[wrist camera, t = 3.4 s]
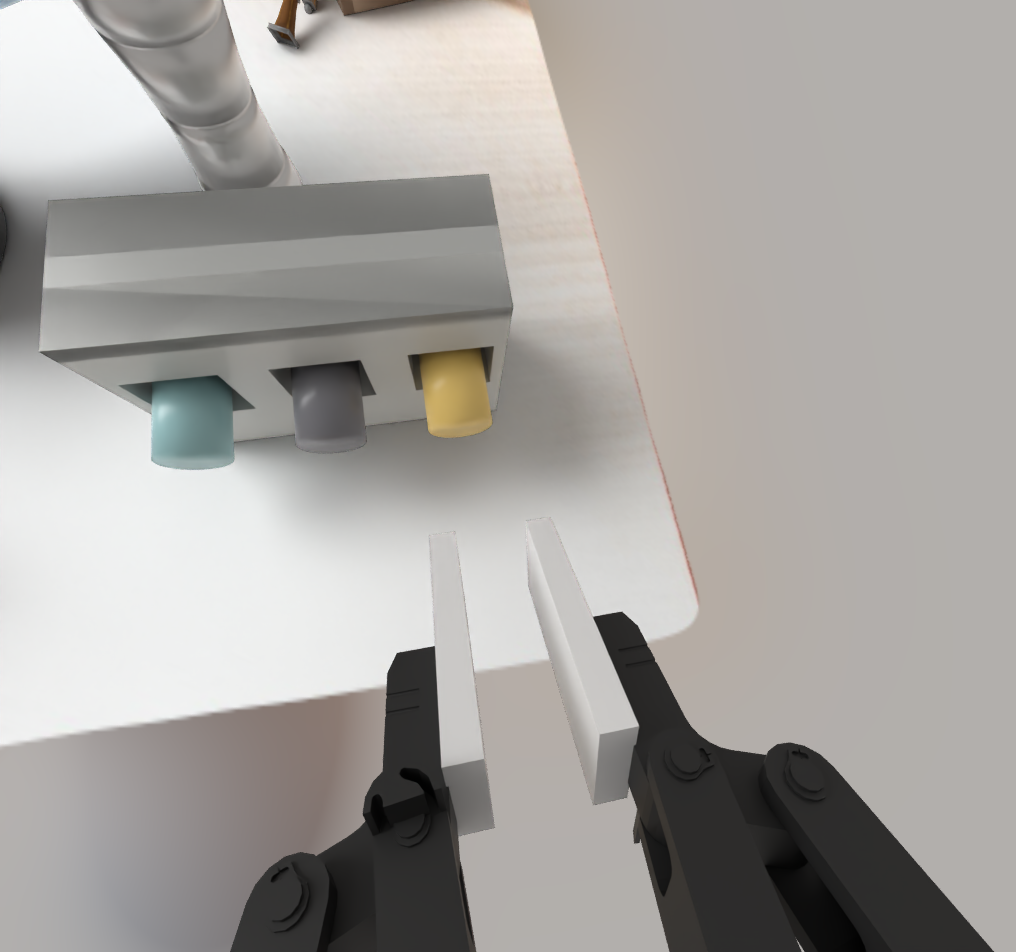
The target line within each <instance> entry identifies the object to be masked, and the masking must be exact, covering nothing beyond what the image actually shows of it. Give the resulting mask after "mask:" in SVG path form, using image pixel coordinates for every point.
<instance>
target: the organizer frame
mask: <svg viewBox="0 0 1016 952" xmlns="http://www.w3.org/2000/svg"><path fill="white" fill-rule="evenodd" d="M408 1H413V0H337V2H338V4H339V6H340V8H341V10H342V12H343V14H344V15H349V14H353V13H358V12H362V11H367V10H372V9H376V8H381V7H385V6H390V5H394V4H399V3H404V2H408Z"/></svg>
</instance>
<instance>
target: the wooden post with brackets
mask: <svg viewBox="0 0 1016 952" xmlns="http://www.w3.org/2000/svg"><path fill="white" fill-rule="evenodd" d="M302 1H303V3H304V5H305V6H304V9H305V11H306V13H308V14H310V13H312V9H313V10H316V5H317V0H302ZM298 3H300V0H283V3H282V6H281V9H280V12H279V15H278V18H277V20H276V22H275V25H274V24H271V23H269V25H268V27H267V28H268V29H269V31H270V32H271V34H272V35H273V37H274V38H275V39H276V41H277V42H279V41H280V42H283V43H286V44H289V45H292V46H295V47H297V48H298V47H299V44H298V43H297V41H296V40H295V20H296V10H297V4H298Z"/></svg>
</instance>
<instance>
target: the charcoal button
mask: <svg viewBox="0 0 1016 952" xmlns="http://www.w3.org/2000/svg"><path fill="white" fill-rule="evenodd" d="M291 379H292V395H293V410H294V426H295V441H296V446H297V447H298V448H299V449H302V450H304V451H308V452H314V453H339V452H346V451H351V450H354V449H357V448H360V447H362V446H363V445H365V443H366V442H367V440H366V430H365V420H364V409H363V399H362V389H361V379H360V369H359V360H356V361H346V362H337V363H327V364H317V365H308V366H298V367H291Z"/></svg>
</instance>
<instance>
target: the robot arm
mask: <svg viewBox="0 0 1016 952" xmlns="http://www.w3.org/2000/svg"><path fill="white" fill-rule="evenodd" d="M20 1H22V0H0V9H3V8H5V7H8V6H10V5H13V4H15V3H17V2H20ZM6 237H7V228H6V221H5V216H4V213H3V210H2V208H1V206H0V262H1V259H2V257H3V254H4V250H5V245H6ZM526 537H527V561H528V586H529V590H530V593H531V596H532V600H533V603H534V607H535V610H536V613H537V617H538V620H539V624H540V627H541V630H542V634H543V637H544V640H545V644H546V647H547V651H548V654H549V657H550V661H551V664H552V668H553V671H554V674H555V678H556V681H557V684H558V688H559V691H560V695H561V698H562V701H563V705H564V708H565V712H566V715H567V718H568V722H569V725H570V728H571V731H572V735H573V738H574V742H575V745H576V749H577V752H578V756H579V759H580V762H581V766H582V769H583V772H584V776H585V779H586V783H587V786H588V789H589V793H590V796H591V800H592V803H593V805H597V804H601V803H606V802H610V801H615V800H619V799H623V798H627V795H628V789H629V787H630V790H631V792H632V795H633V798H634V801H635V804H636V806H637V814H636V819H635V824H634V829H633V835H634V843H639V842H640V839H641V843H642V847H643V851H644V854H645V858H646V862H647V866H648V870H649V874H650V878H651V881H652V886H653V889H654V893H655V897H656V901H657V905H658V909H659V913H660V917H661V920H662V924H663V928H664V932H665V936H666V940H667V943H668V948H669V951H670V952H801V949H800V947H799V945H798V943H797V940H798V942H799V944H800V945H801V947H802V948H803V950H804V952H994V951H993V950H992V949H991V948H990V947H989V945H988V944H987V943H986V942H985V941H984V940H983V939H982V937H981V936H980V935H979V934H978V933H977V932H976V931H975V929H974V928H973V927H972V926H971V925H970V923H969V922H968V921H967V920H966V919H965V918H964V917H963V915H962V914H961V913H960V912H959V911H958V910H957V909H956V907H955V906H954V905H953V904H952V903H951V902H950V900H949V899H948V898H947V897H946V896H945V895H944V894H943V893H942V891H941V890H940V889H939V888H938V887H937V885H936V884H935V883H934V882H933V881H932V880H931V879H930V877H929V876H928V875H927V874H926V873H925V872H924V871H923V869H922V868H921V867H920V866H919V865H918V864H917V863H916V861H915V860H914V859H913V858H912V857H911V856H910V854H909V853H908V852H907V851H906V850H905V849H904V847H903V846H902V845H901V844H900V843H899V842H898V840H897V839H896V838H895V837H894V836H893V835H892V834H891V833H890V831H889V830H888V829H887V828H886V827H885V825H884V824H883V823H882V822H881V821H880V820H879V819H878V817H877V816H876V815H875V814H874V813H873V812H872V811H871V809H870V808H869V807H868V806H867V805H866V804H865V802H864V801H863V800H862V799H861V798H860V797H859V796H858V795H857V793H856V792H855V791H854V790H853V789H852V787H851V786H850V785H849V784H848V783H847V782H846V781H845V779H844V778H843V777H842V776H841V775H840V774H839V772H838V771H837V770H836V769H835V768H834V767H833V766H832V765H831V764H830V763H829V762H828V761H827V760H826V759H824V758H823V757H822V756H821V755H820V754H818V753H817V752H814V751H813V750H811V749H809V748H807V747H805V746H803V745H798V744H794V743H783V744H777V745H776V746H774V747H773V748H772V749H770V750H769V751H768V753H767V755H762V754H755V753H748V752H741V751H734V750H729V749H725V748H721V747H718V746H716V745H714V744H712V743H710V742H708V741H707V740H706V739H704V738H703V737H701V736H700V735H699V734H698V733H697V732H696V731H695V730H694V729H693V728H692V727H691V726H690V724H689V723H688V721H687V720H686V718H685V716H684V714H683V712H682V710H681V708H680V706H679V705H678V703H677V701H676V699H675V697H674V695H673V693H672V691H671V689H670V687H669V685H668V683H667V681H666V679H665V678H664V676H663V674H662V672H661V670H660V668H659V666H658V664H657V663H656V662H655V658H654V656H653V654H652V652H651V650H650V649H649V648H648V646H647V643H646V641H645V639H644V637H643V635H642V633H641V631H640V629H639V627H638V626H637V625H636V624H635V623H634V622H633V621H632V620H631V619H630V618H628V617H627V616H626V615H625V614H624V613H623V612H617V613H611V614H606V615H600V616H595V617H593V616H592V614H591V611H590V609H589V607H588V604H587V602H586V600H585V597H584V595H583V593H582V590H581V588H580V586H579V583H578V581H577V578H576V576H575V574H574V571H573V569H572V567H571V564H570V562H569V560H568V557H567V555H566V553H565V550H564V548H563V545H562V543H561V541H560V538H559V536H558V534H557V531H556V529H555V527H554V524H553V522H552V519H551V517H547V518H540V519H534V520H527V521H526ZM429 542H430V560H431V579H432V598H433V617H434V636H435V646H433V647H428V648H422V649H417V650H411V651H405V652H400V653H397V654H396V656H395V658H394V660H393V662H392V665H391V667H390V669H389V671H388V673H387V693H386V695H387V699H386V717H385V735H384V755H383V772H382V773H381V774H380V775H379V776H378V777H377V778H376V779H375V780H374V781H373V783H372V785H371V787H370V789H369V791H368V793H367V795H366V797H365V802H364V808H363V816H364V818H365V820H366V821H365V823H364V824H363V825H362V826H361V827H360V828H359V829H358V830H356V831H355V832H354V833H352V834H351V835H350V836H348V837H347V838H345V839H343V840H342V841H340V842H339V843H337V844H335V845H334V846H332V847H330V848H329V849H327V850H325V851H324V852H322V853H321V854H319V855H317V856H315V855H314V854H308V853H303V852H300V853H296V854H292V855H289V856H286V857H284V858H282V859H281V860H280V861H278V862H277V863H275V864H274V865H273V866H271V867H270V868H269V869H268V870H267V871H266V872H265V874H264V875H263V876H262V877H261V879H260V880H259V881H258V882H257V884H256V885H255V887H254V889H253V891H252V893H251V895H250V897H249V899H248V901H247V903H246V905H245V909H244V912H243V915H242V918H241V921H240V924H239V927H238V930H237V933H236V936H235V939H234V942H233V945H232V948H231V951H230V952H476V947H475V941H474V935H473V930H472V924H471V918H470V912H469V906H468V900H467V894H466V888H465V883H464V876H463V871H462V866H461V862H460V855H459V841H458V836H462V835H466V834H470V833H475V832H479V831H483V830H488V829H492V828H495V827H494V819H493V812H492V804H491V796H490V789H489V782H488V774H487V766H486V758H485V751H484V743H483V735H482V728H481V720H480V712H479V705H478V697H477V689H476V682H475V674H474V666H473V659H472V651H471V644H470V636H469V628H468V621H467V613H466V605H465V598H464V591H463V584H462V577H461V570H460V563H459V556H458V549H457V542H456V535H455V531H454V532H447V533H441V534H434V535H429ZM795 937H796V938H795ZM796 939H797V940H796Z"/></svg>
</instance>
